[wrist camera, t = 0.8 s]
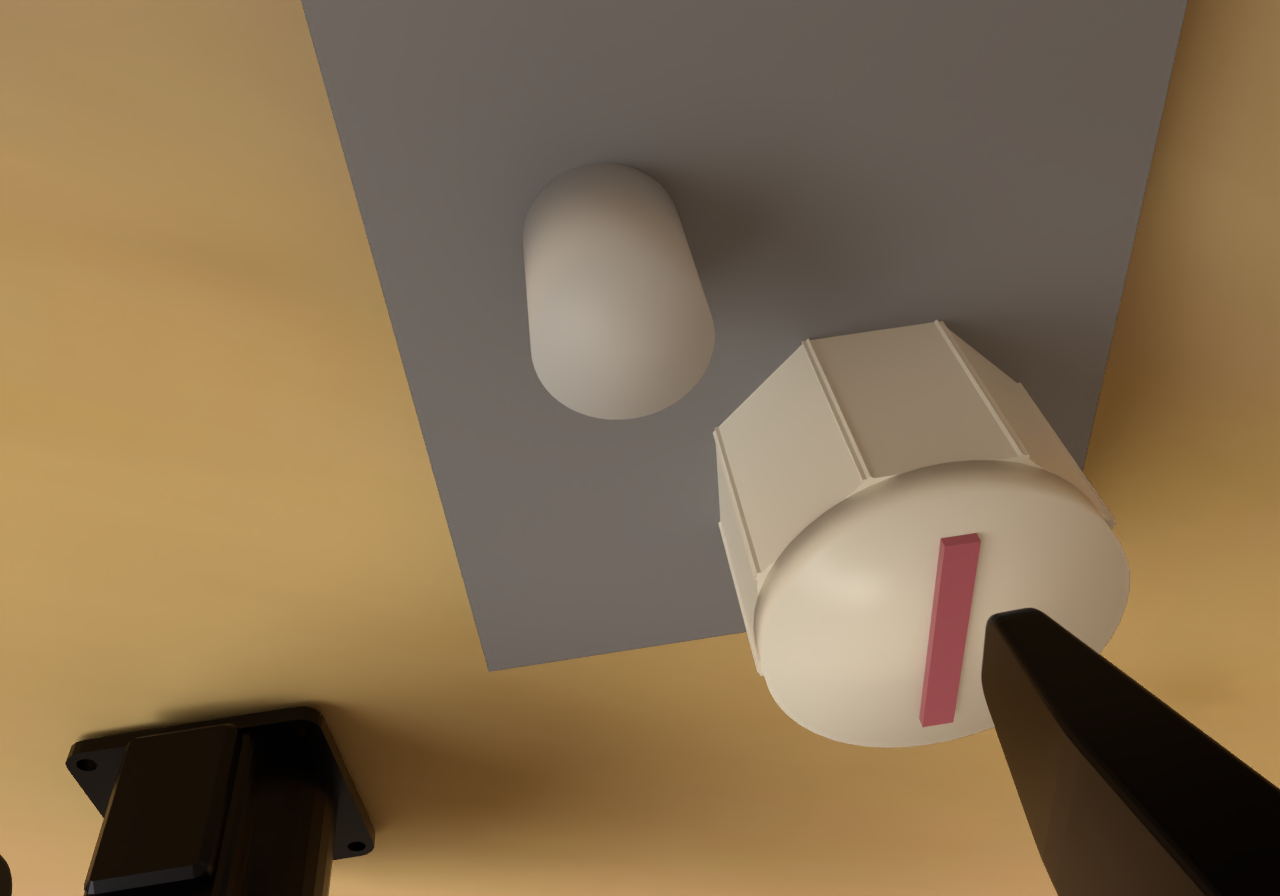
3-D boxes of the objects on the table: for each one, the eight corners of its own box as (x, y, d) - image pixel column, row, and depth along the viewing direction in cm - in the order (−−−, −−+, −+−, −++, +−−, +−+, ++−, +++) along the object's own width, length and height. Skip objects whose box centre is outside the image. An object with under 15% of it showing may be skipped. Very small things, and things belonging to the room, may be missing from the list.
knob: (997, 544, 25) (1098, 727, 21) (719, 586, 25) (767, 779, 21) (1038, 302, 21) (1172, 472, 17) (705, 351, 21) (760, 534, 17)
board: (1032, 541, 27) (1125, 698, 23) (488, 624, 27) (490, 799, 23) (1170, -169, 17) (1372, -100, 13) (305, -58, 17) (254, 48, 13)
